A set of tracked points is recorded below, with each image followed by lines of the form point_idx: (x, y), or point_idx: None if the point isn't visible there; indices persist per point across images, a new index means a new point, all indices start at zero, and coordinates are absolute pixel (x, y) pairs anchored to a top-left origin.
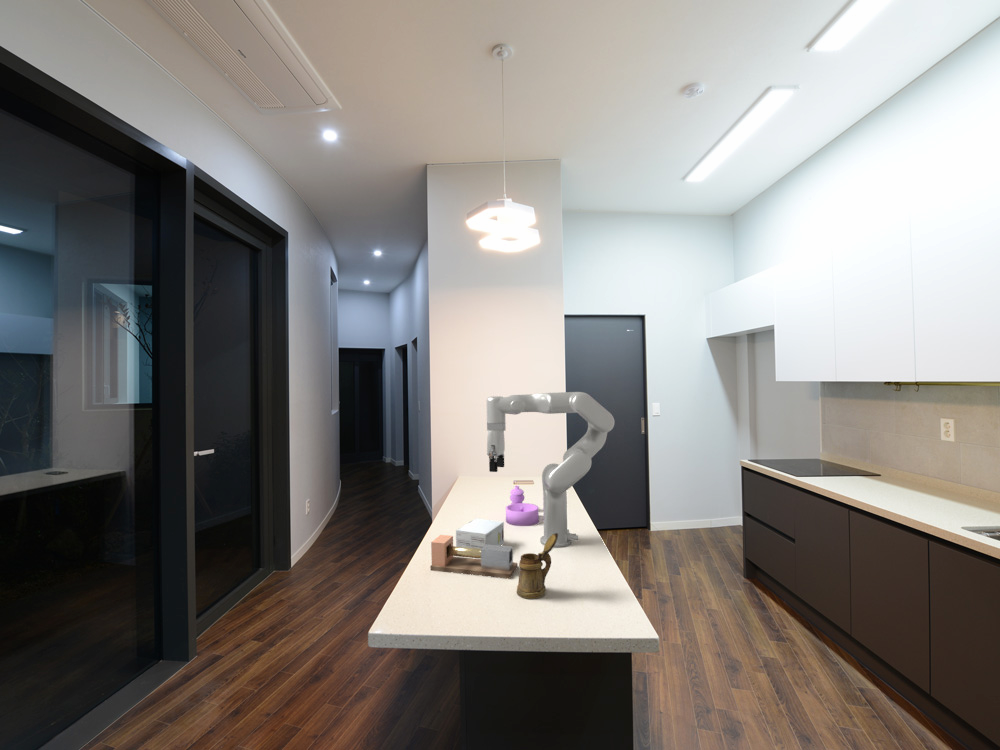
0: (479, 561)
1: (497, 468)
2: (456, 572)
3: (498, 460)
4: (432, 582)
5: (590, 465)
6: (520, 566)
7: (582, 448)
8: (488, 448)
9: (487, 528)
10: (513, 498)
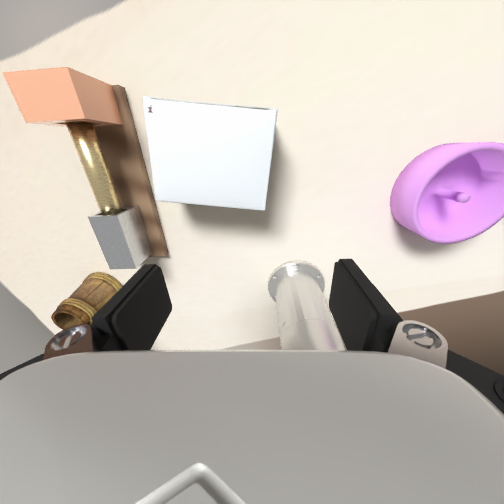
0: (136, 191)
1: (160, 325)
2: None
3: (354, 310)
4: (28, 130)
5: None
6: (60, 303)
7: None
8: None
9: (193, 190)
10: None
